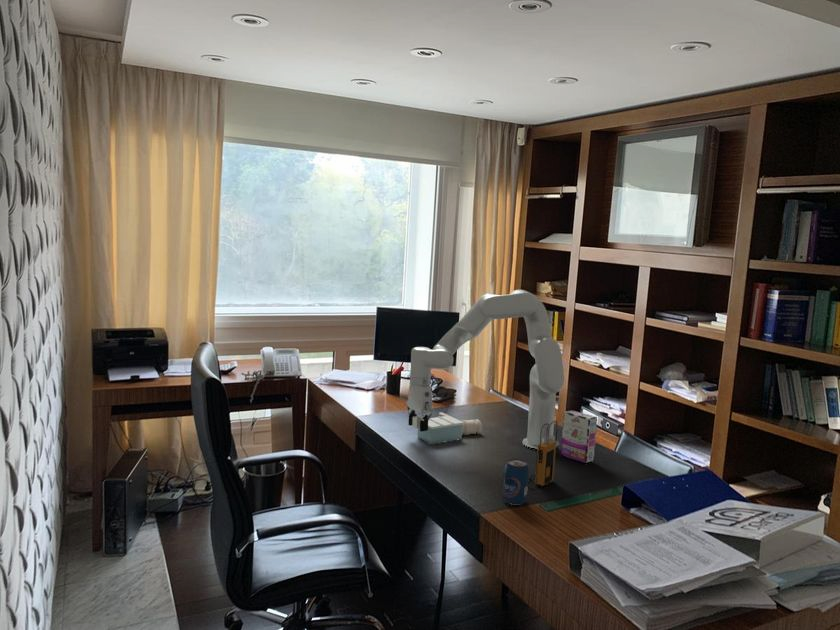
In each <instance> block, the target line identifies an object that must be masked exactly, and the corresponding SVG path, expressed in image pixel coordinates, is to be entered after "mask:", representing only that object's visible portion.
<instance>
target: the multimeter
mask: <svg viewBox="0 0 840 630" xmlns="http://www.w3.org/2000/svg"><path fill="white" fill-rule="evenodd" d="M553 422H554V423H556V426H558V422H557V420H554V421H553ZM553 422H552V423H553ZM552 423H551V424H552ZM551 424H550V426H551ZM544 425H547V424H544ZM544 425H543V426H544ZM548 426H549V424H548ZM550 426H549V428H550ZM542 428H543V427H542ZM549 428H548V427H547V431H548V438H547V435H546V440H545V442H544V443H541V434H540V444H539V445H538V448H537V450H536V463H535V466H536V467H535V474H536V475H535V479H534V480H535V481H534V484H535V483H536V484H535V488H537V486H538V485H537V484H540V485H545V484H546V483H548V482H550V481H552V480H553V481H554V473H555V463H556V449H557V447H556V441H557V440H558V439H557V438H558V430H556V431H555V433H556V434H555V442H553V441H549ZM541 432H542V429H541ZM553 481H552V482H553ZM550 483H551V482H550ZM548 484H549V483H548ZM546 485H547V484H546ZM546 485H545V486H546ZM535 488H534V489H535Z"/></svg>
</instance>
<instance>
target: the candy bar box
mask: <svg viewBox="0 0 840 630" xmlns="http://www.w3.org/2000/svg"><path fill="white" fill-rule="evenodd" d="M562 417H563V418H562V430H561V431H562V433H561V445H560V455H561V454H563V455H566V456H568V457H571V458H574V459H577V460H579V461H583V462H585V463H587V462H590V461H593V460H594V461H595V449H596V437H597V426H598V425H597V424H598V417H597V416H595V415H591V414H588V413H587V414H586V413H584V412H581V411H580V412H579V411H576V410H571V409H570V410H566V411H563V416H562Z"/></svg>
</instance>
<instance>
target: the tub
mask: <svg viewBox="0 0 840 630" xmlns="http://www.w3.org/2000/svg"><path fill="white" fill-rule="evenodd" d="M462 436H463V435H462V425H457V426H450V427H444V428H437V429H430V428H428V430H427V431H422V432H421V431H420V428H417V438H418V439H419V438H421V439H423V440H424V441H423V440H422V441H423V442H425V441H426V442H425V443H427V442H428V443H430V444H432V445H434V444H433V443H438V444H440V443H439V442H444V441H450V442H452V441H451V440H456V441H458V440H457V439H462V438H463V437H462ZM421 439H420V440H421ZM428 443H427V444H428ZM444 443H445V442H444ZM430 444H429V445H430Z"/></svg>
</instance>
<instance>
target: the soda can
mask: <svg viewBox="0 0 840 630" xmlns="http://www.w3.org/2000/svg"><path fill="white" fill-rule="evenodd" d="M529 470H530V469H529V466H528V462H526V460H523V459H518V458H511V459H508V460H507V461H506V464H505V466H504V473H503V474H504V475H503V488H502V489H503V490H502V498H503V500H505V501H506V502H508V503H512V504H522V503H524V504H525V503H526V502H527V500H528V489H529V488H528V487H529V486H528V485H529V478H528V476H529V475H530V471H529ZM505 501H504V502H505ZM506 502H505V503H506Z"/></svg>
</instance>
